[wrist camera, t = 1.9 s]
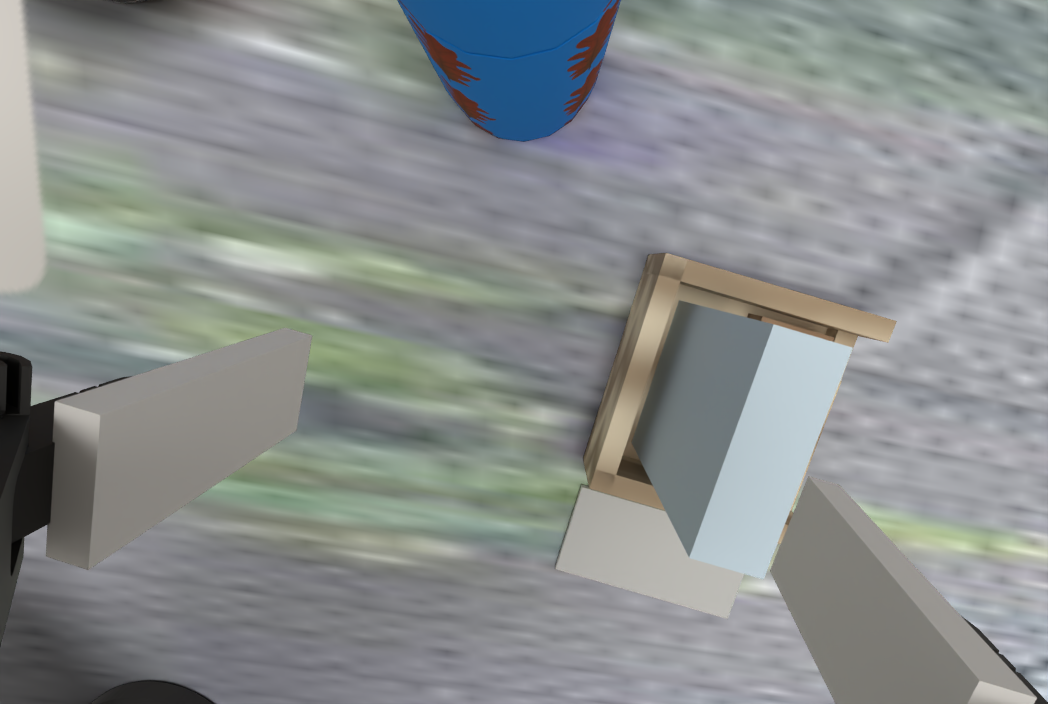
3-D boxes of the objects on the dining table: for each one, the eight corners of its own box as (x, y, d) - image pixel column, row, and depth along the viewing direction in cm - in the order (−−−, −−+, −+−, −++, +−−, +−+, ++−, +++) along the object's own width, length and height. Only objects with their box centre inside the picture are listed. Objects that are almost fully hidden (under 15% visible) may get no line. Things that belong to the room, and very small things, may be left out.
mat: (725, 614, 46) (727, 618, 45) (555, 565, 45) (555, 569, 45) (755, 534, 45) (758, 538, 44) (581, 484, 44) (582, 487, 44)
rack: (770, 513, 44) (805, 551, 38) (583, 458, 44) (589, 488, 38) (846, 313, 42) (896, 321, 36) (648, 254, 42) (666, 252, 36)
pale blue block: (676, 456, 43) (763, 579, 26) (631, 442, 43) (689, 558, 26) (725, 313, 41) (853, 347, 24) (678, 300, 41) (773, 324, 24)
